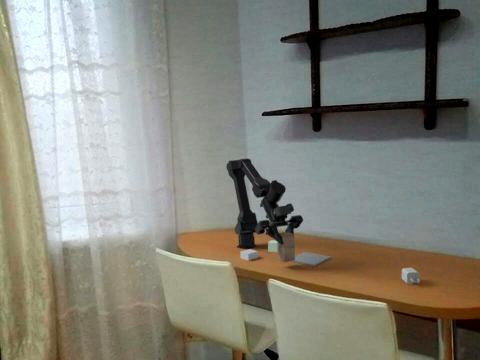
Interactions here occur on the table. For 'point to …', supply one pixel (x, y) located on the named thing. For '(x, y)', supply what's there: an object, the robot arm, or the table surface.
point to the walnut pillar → (286, 247)
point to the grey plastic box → (249, 254)
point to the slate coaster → (310, 259)
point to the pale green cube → (272, 246)
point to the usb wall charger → (410, 275)
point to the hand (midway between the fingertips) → (288, 243)
